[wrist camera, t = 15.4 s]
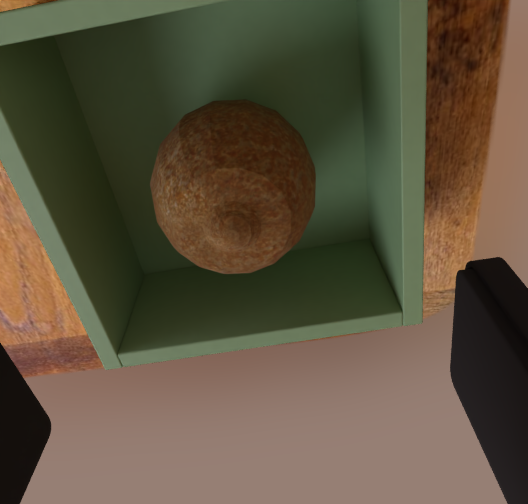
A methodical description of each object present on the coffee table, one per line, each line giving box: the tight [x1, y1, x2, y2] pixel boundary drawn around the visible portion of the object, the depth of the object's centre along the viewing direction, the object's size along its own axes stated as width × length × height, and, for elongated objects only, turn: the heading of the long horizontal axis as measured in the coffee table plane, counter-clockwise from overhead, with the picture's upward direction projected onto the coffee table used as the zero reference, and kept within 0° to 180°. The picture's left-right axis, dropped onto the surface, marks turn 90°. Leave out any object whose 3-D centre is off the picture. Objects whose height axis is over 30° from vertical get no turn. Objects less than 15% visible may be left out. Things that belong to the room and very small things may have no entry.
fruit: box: [150, 99, 316, 274], centre depth 18 cm, size 6×6×8 cm
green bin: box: [0, 0, 428, 370], centre depth 19 cm, size 14×14×7 cm
